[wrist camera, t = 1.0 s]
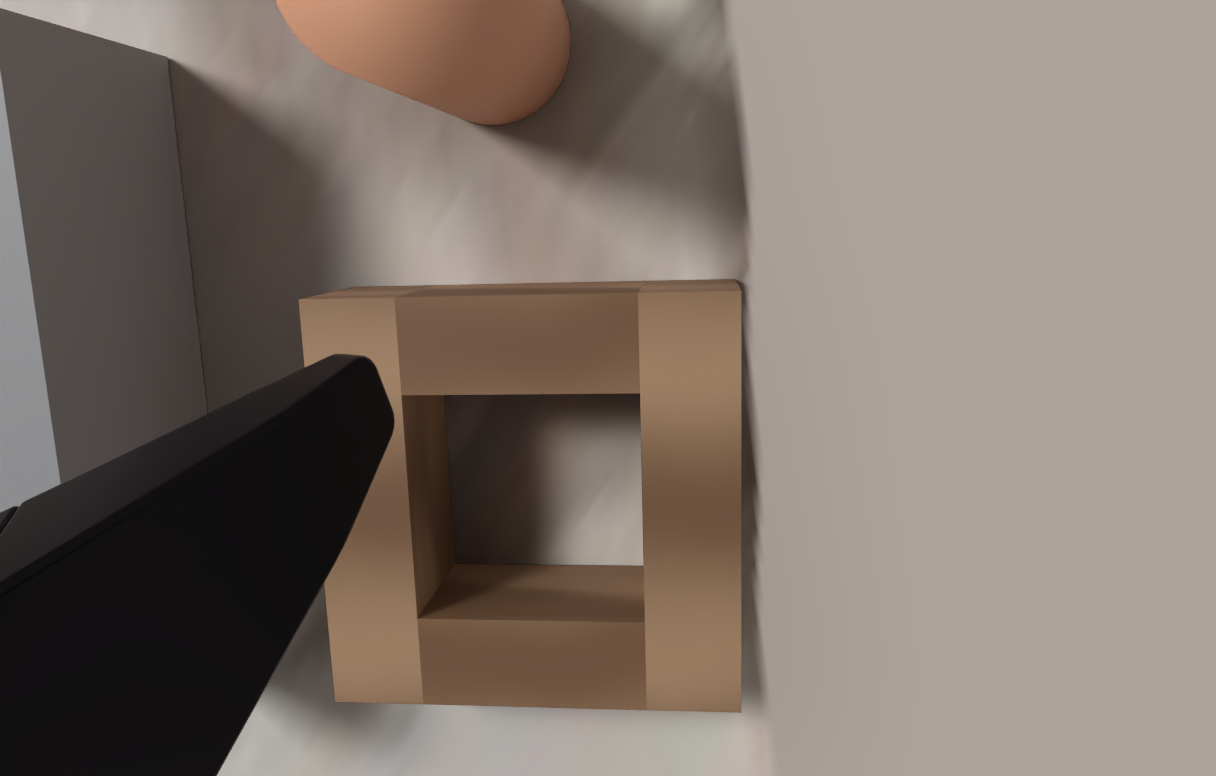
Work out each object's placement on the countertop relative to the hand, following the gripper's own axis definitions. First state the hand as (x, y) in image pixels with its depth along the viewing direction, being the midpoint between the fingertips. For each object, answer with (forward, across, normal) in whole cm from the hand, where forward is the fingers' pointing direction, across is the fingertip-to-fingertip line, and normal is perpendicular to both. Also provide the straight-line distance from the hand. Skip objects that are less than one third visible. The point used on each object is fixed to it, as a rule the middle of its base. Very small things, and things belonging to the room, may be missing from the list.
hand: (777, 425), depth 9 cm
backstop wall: (+8, +19, +7) cm, 21 cm away
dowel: (+14, +10, 0) cm, 17 cm away
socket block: (+9, +9, +10) cm, 16 cm away
